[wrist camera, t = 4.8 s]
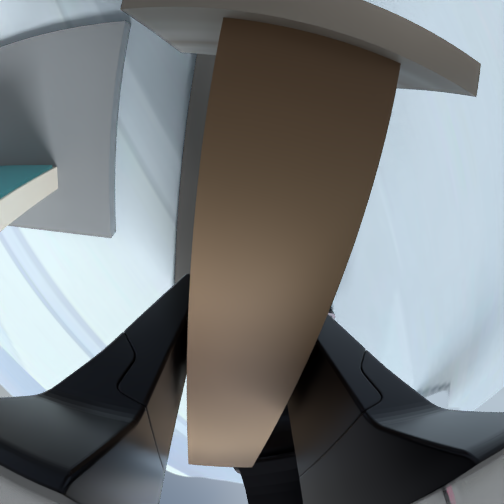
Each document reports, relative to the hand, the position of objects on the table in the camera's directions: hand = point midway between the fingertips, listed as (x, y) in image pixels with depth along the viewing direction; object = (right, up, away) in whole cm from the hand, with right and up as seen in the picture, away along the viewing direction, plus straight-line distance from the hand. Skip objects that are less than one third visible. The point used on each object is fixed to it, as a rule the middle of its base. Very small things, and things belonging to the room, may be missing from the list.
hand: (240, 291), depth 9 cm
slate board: (-16, +10, +6) cm, 19 cm away
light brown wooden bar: (0, 0, +1) cm, 1 cm away
